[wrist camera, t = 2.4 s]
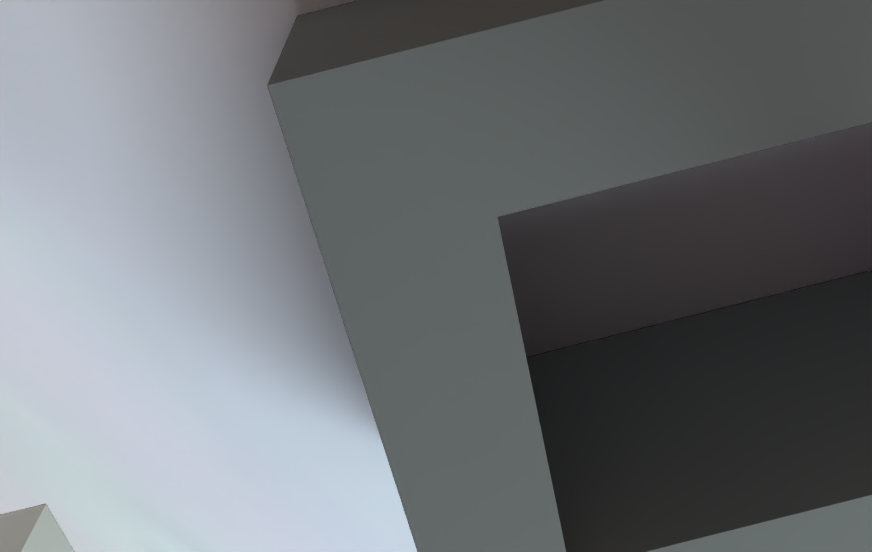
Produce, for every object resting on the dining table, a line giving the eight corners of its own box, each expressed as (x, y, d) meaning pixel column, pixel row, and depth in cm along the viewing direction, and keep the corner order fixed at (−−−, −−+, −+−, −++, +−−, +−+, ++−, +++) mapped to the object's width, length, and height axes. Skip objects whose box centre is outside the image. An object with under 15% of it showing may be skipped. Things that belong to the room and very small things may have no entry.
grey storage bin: (427, 461, 21) (463, 693, 15) (297, 15, 16) (266, 85, 10) (1136, 283, 21) (1469, 440, 15) (1238, -222, 16) (1815, -306, 10)
